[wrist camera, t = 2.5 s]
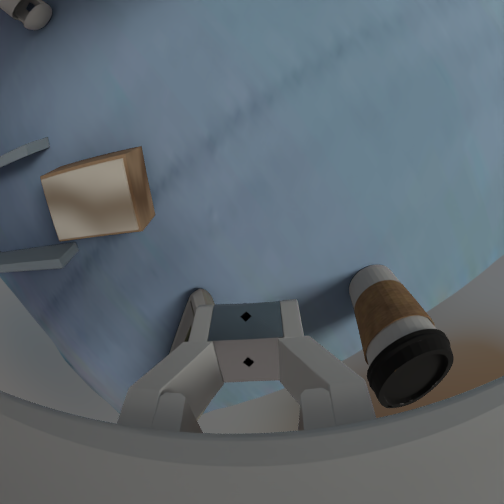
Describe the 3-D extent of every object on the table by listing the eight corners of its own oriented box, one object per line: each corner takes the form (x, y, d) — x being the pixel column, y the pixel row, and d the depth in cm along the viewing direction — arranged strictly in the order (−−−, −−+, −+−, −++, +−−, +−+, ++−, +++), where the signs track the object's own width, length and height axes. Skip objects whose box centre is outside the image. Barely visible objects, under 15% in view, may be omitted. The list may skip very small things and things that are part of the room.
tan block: (66, 163, 26) (38, 177, 22) (145, 144, 26) (123, 154, 21) (81, 221, 30) (58, 242, 25) (158, 210, 29) (141, 232, 24)
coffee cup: (325, 298, 34) (354, 404, 21) (367, 242, 31) (427, 340, 18) (373, 319, 36) (410, 412, 23) (414, 271, 32) (472, 360, 19)
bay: (-29, 173, 25) (-47, 182, 22) (47, 137, 24) (25, 144, 21) (-1, 260, 32) (-15, 273, 29) (78, 250, 31) (63, 268, 28)
